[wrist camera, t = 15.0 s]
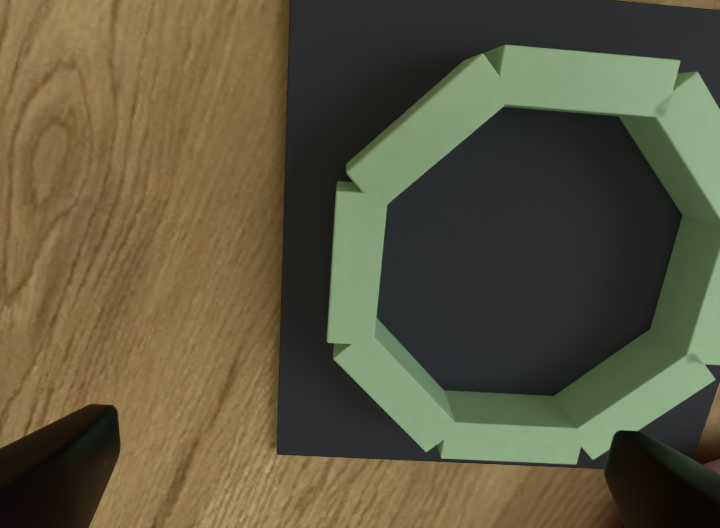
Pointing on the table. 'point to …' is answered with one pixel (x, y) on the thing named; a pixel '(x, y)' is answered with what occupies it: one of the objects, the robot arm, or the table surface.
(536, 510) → the table surface
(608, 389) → the ring
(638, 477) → the robot arm
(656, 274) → the mat
